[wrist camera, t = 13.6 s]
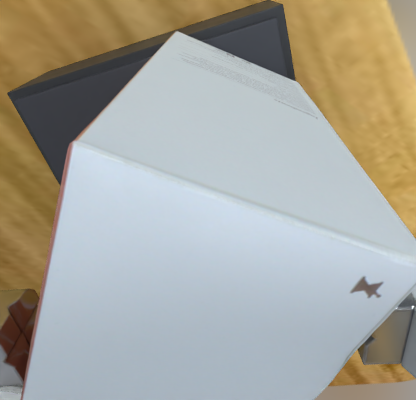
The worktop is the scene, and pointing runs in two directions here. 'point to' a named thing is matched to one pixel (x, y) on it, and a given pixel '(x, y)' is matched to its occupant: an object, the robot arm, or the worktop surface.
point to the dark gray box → (129, 66)
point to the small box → (212, 243)
